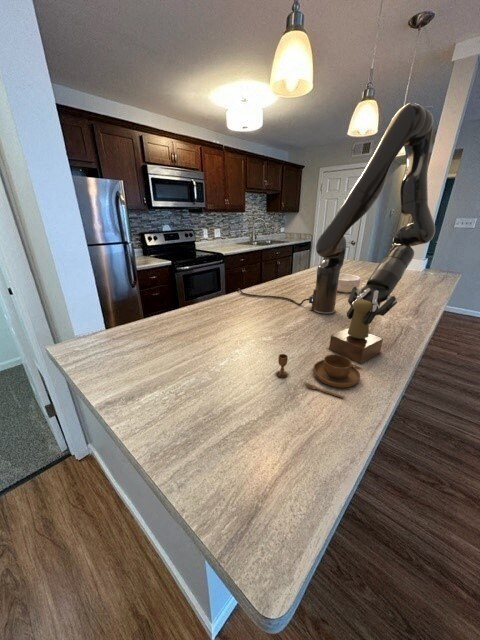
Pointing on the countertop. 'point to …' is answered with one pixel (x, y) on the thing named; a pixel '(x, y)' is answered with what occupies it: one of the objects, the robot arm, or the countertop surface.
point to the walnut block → (355, 346)
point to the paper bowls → (348, 282)
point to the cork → (359, 319)
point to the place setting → (329, 371)
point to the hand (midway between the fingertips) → (356, 320)
